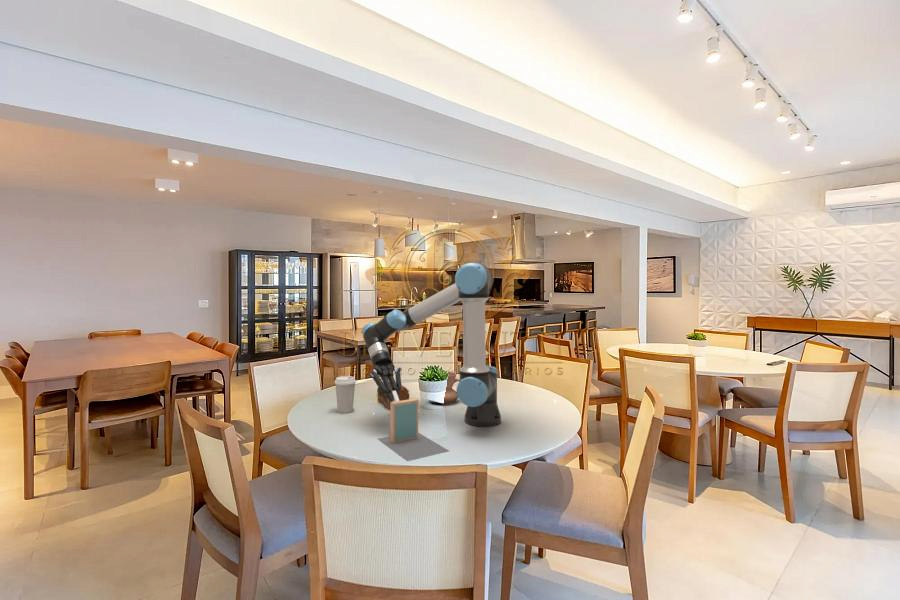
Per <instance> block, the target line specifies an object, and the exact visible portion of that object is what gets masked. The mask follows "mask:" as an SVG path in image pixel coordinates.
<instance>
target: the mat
mask: <svg viewBox="0 0 900 600" xmlns="http://www.w3.org/2000/svg"><path fill="white" fill-rule="evenodd" d="M377 440H378V441H379V442H380V443H382V444H383V445H385V446H386V447H387V448H388V449H390V450H391V451H392V452H394V453H395V454H397V455H398V456H400V457H401V458H402V459H403V460H405V461H406V462H410V461H411V462H412V461H414V460H419V459H423V458H427V457H430V456H435V455H439V454H440V455H441V454H444V453H447V452H450V450H449V449H447V448H446V447H444V446H442V445H440V444H439V443H437V442H435V441H434V440H432V439H430V438H428V437H427V436H425V435H424V434H422V433H420V432H418V438H416V439H411V440H406V441H402V442H397V443H392V442H391V441H390V435H389V436H385V437H384V436H383V437H379V438H377Z"/></svg>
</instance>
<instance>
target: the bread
mask: <svg viewBox="0 0 900 600" xmlns="http://www.w3.org/2000/svg"><path fill="white" fill-rule="evenodd" d="M389 384H390V383H389ZM390 386H391V385H390ZM391 389H392V388H391ZM376 392H377V394H376V397H377V401H378V402H379V403H380V404H381V405H382V404H383V405H384V406H383V405H382V406H383V407H385V408H386V409H387V408H388V409H387V410H390V402H392V401H390V399H389V396H387V395H386V393H385V394H383V393H382V392H381V390H380V389H379V387H378V386H377V390H376ZM409 392H410V391H409V389H408V388H407V387H406V386H404V385H402V388H401V390H400V392H399V395H400V399H399V401H402V400H409V399H410V393H409Z"/></svg>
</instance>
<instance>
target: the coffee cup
mask: <svg viewBox="0 0 900 600" xmlns="http://www.w3.org/2000/svg"><path fill="white" fill-rule="evenodd" d="M355 378H356V377H354V376H351V375H344V376H343V375H341V376H338V377H336V378H335V380H334V383H333V384H335V385H334V386H335V393H336V395H335V396H336V406H337V412H338V413H339V412H340V414H348V413H349V412H350V413H352V412H353V411H354V401H355V400H354V399H355V388H356V383H357V380H356V379H355Z"/></svg>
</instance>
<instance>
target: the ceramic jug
mask: <svg viewBox="0 0 900 600" xmlns="http://www.w3.org/2000/svg"><path fill="white" fill-rule="evenodd" d="M446 371H447V372H448V373H449V376H448V379H447V387H446V392H445V397H444V405H448V404H451V403H453V402H456V401H457V400H458V399H459V398H458V396H457V390H455V389H453V386H454V385H455V383H459V382H460V378H457V372H455V371H450V370H446Z"/></svg>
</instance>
